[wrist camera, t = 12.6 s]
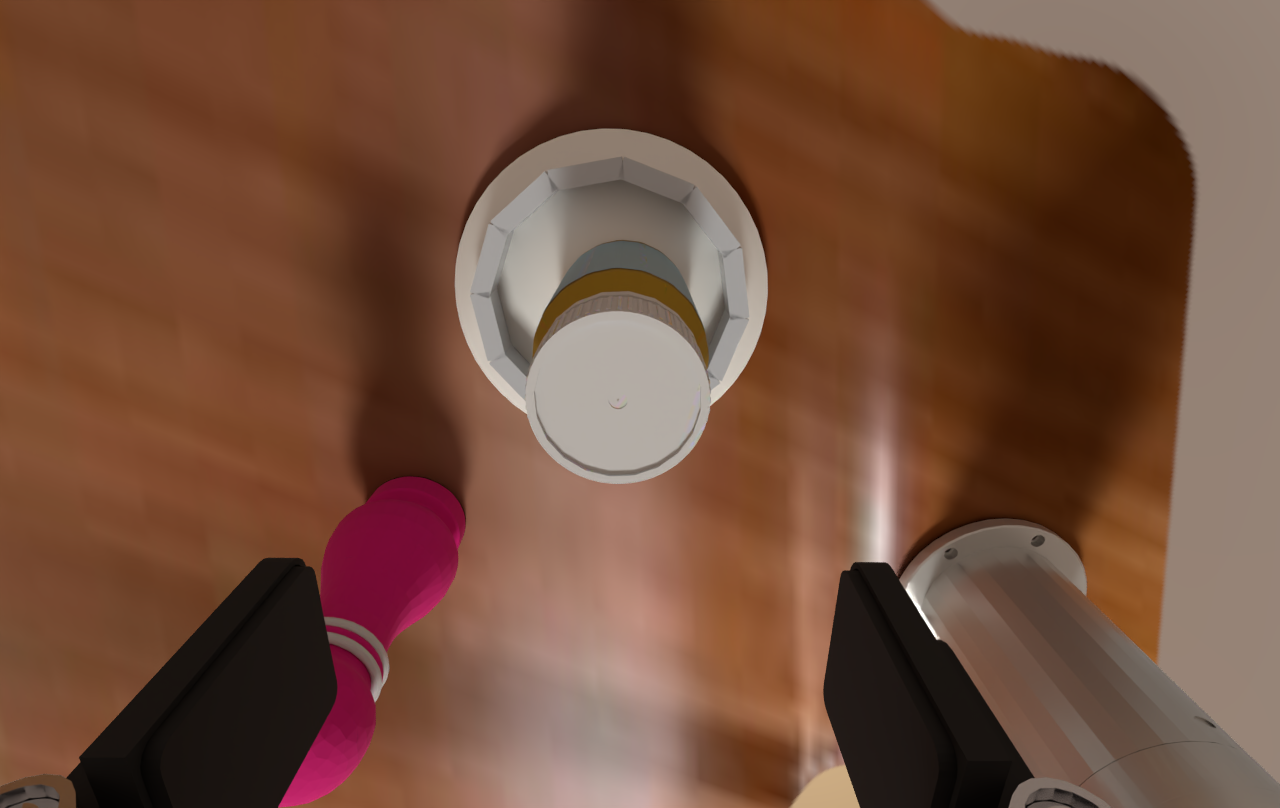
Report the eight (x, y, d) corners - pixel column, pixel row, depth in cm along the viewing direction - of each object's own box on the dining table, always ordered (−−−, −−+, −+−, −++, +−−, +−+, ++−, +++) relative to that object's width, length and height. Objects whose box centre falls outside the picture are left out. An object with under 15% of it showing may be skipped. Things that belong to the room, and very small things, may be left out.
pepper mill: (389, 447, 39) (169, 717, 20) (494, 503, 41) (378, 801, 22) (341, 533, 41) (102, 846, 23) (442, 582, 43) (297, 915, 24)
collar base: (823, 313, 36) (839, 326, 33) (597, 483, 40) (595, 508, 37) (631, 52, 31) (632, 42, 29) (394, 274, 35) (374, 285, 32)
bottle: (601, 385, 37) (581, 527, 23) (535, 279, 34) (468, 362, 20) (710, 327, 35) (760, 439, 21) (649, 213, 33) (660, 254, 19)
